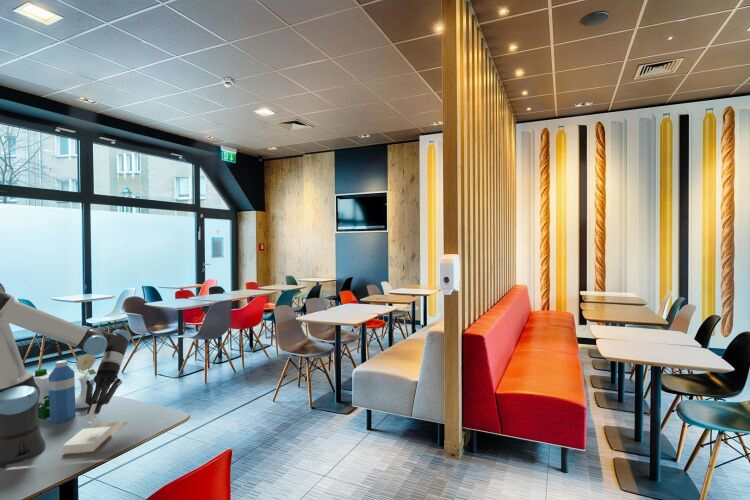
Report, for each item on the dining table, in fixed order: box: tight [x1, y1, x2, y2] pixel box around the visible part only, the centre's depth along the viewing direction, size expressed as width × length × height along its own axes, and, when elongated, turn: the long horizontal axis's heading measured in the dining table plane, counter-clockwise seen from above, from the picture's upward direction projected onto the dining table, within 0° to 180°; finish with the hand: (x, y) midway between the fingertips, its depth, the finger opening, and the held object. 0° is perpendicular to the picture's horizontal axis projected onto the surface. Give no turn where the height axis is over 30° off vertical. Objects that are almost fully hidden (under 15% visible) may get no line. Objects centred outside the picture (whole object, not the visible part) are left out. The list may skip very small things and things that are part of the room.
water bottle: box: [49, 359, 77, 424], centre depth 174 cm, size 9×9×25 cm
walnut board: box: [58, 421, 129, 456], centre depth 156 cm, size 12×25×1 cm, turn 7°
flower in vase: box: [75, 353, 99, 410], centre depth 187 cm, size 13×11×25 cm
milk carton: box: [33, 368, 52, 420], centre depth 178 cm, size 9×9×20 cm
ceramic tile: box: [62, 427, 111, 455], centre depth 150 cm, size 3×10×13 cm
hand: (89, 422), depth 151 cm, fingers closed
